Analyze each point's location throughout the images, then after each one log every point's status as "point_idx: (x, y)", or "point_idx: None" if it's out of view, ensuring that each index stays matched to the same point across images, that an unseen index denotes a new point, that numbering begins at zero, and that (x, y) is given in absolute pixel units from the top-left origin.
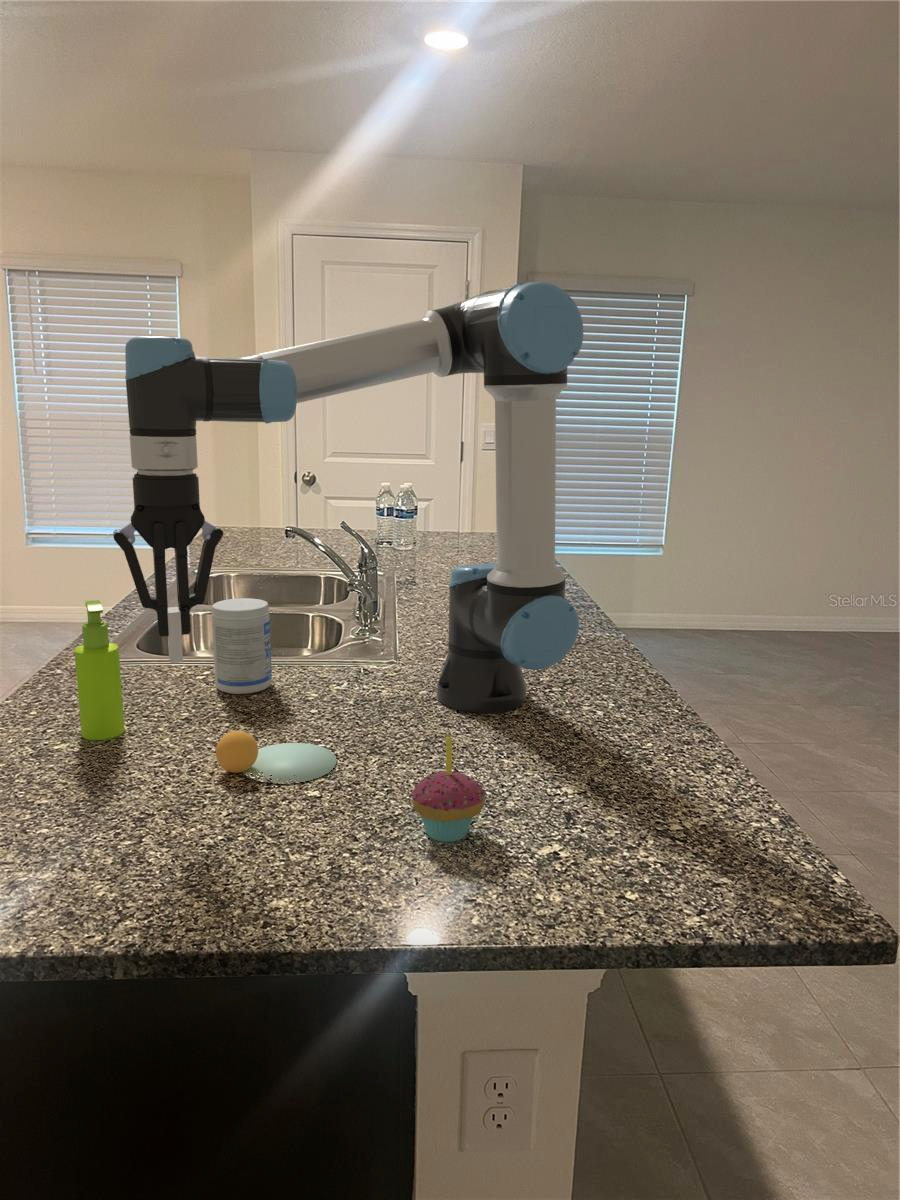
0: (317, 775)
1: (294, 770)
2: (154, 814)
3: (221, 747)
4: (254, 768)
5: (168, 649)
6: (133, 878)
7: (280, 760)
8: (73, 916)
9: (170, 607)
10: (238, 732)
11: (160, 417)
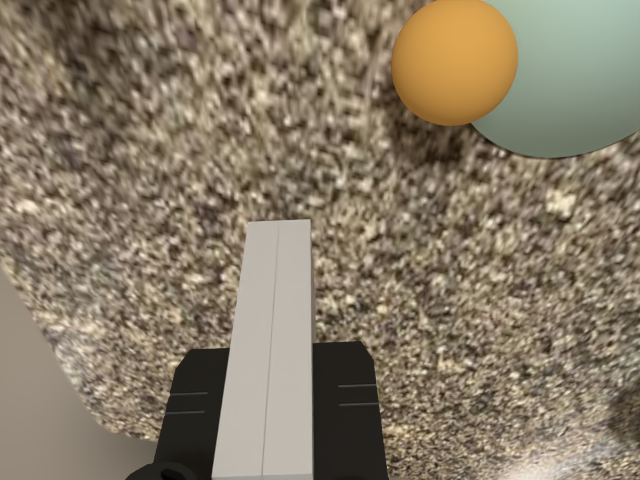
0: (610, 137)
1: (574, 94)
2: (235, 202)
3: (408, 99)
4: None
5: (245, 252)
6: None
7: (568, 20)
8: (155, 403)
9: (247, 475)
10: (473, 87)
11: None
